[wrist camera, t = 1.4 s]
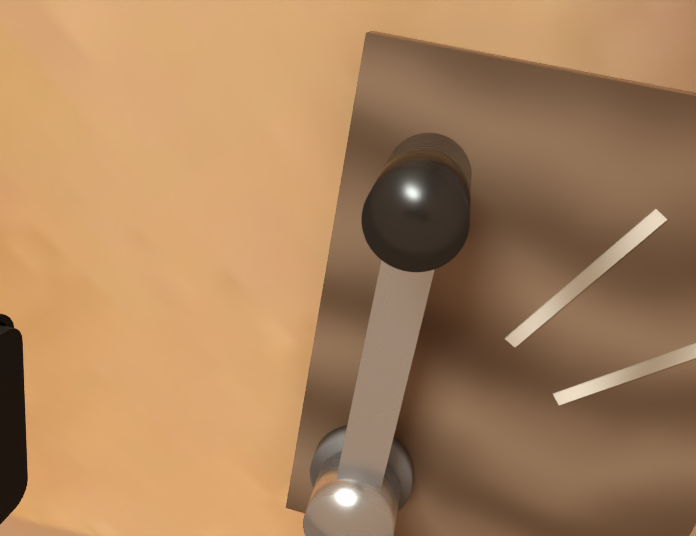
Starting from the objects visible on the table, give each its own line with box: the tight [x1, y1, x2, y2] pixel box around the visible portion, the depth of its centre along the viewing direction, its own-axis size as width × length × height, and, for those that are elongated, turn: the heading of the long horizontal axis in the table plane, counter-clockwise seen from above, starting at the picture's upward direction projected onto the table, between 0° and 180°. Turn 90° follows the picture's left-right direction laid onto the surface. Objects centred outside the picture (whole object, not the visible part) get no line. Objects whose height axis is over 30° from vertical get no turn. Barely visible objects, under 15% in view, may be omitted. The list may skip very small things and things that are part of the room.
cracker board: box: [286, 31, 696, 536], centre depth 28 cm, size 24×19×2 cm
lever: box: [303, 133, 472, 536], centre depth 25 cm, size 20×4×7 cm, turn 170°
